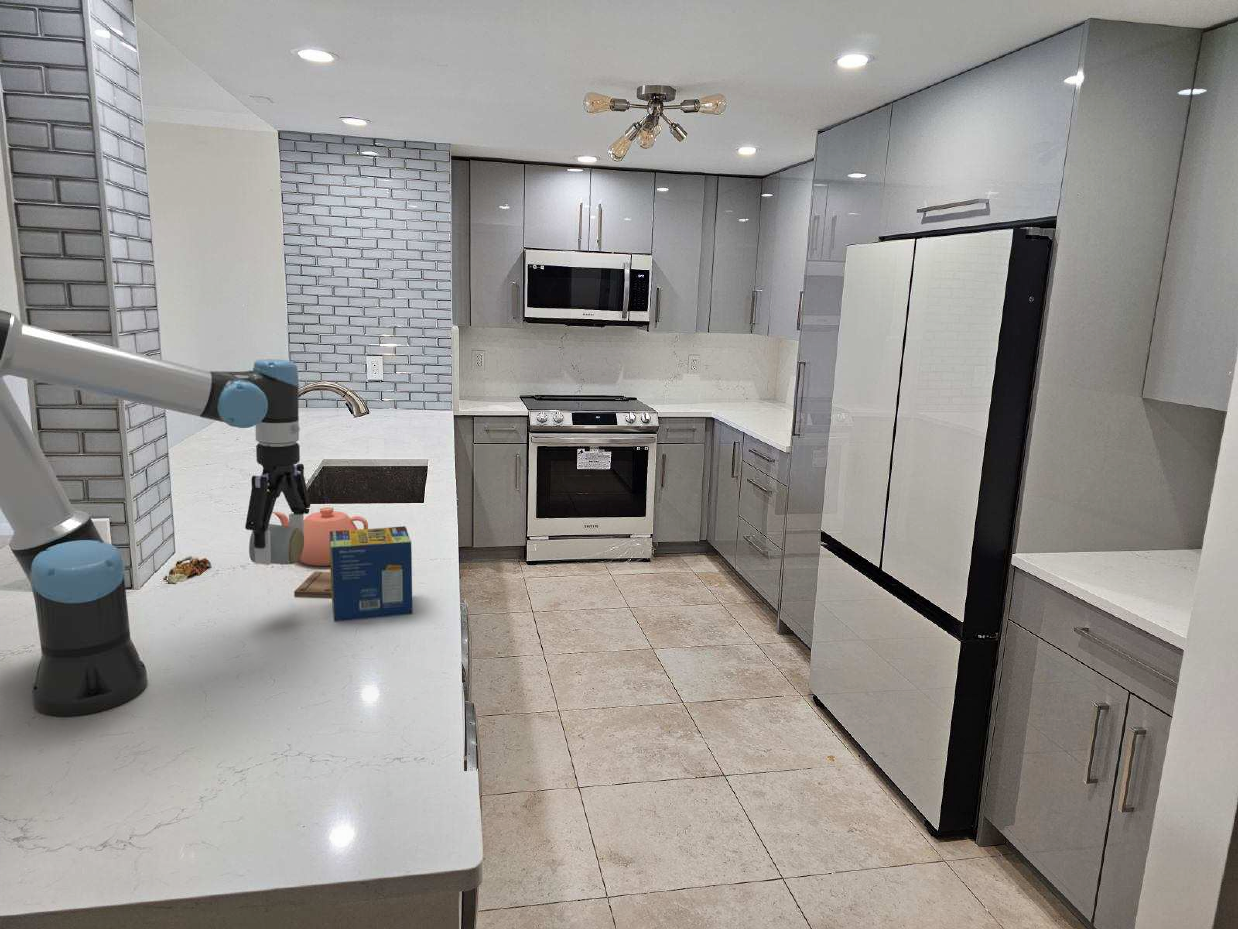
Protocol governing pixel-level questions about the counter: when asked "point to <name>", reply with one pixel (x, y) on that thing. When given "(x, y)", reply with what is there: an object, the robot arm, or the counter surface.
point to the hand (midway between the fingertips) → (280, 554)
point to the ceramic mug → (282, 544)
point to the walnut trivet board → (315, 586)
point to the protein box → (371, 573)
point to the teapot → (322, 533)
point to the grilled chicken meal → (186, 569)
